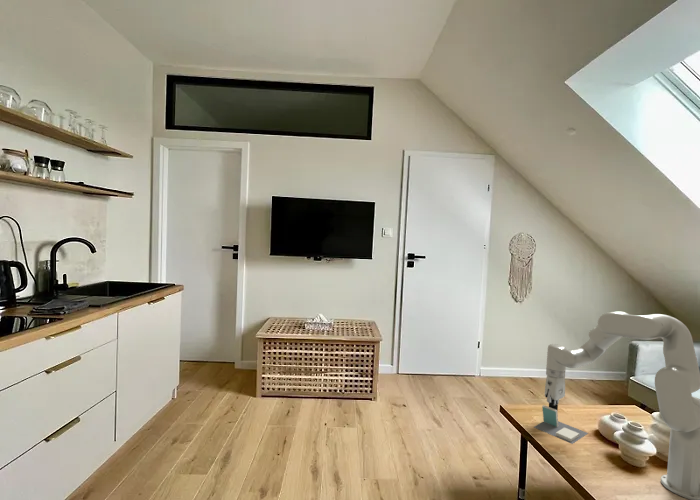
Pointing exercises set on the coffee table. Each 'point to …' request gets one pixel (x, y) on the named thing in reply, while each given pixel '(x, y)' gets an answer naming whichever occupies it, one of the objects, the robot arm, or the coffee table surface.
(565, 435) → the tile
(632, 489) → the coffee table surface
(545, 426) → the mat
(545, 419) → the tile
